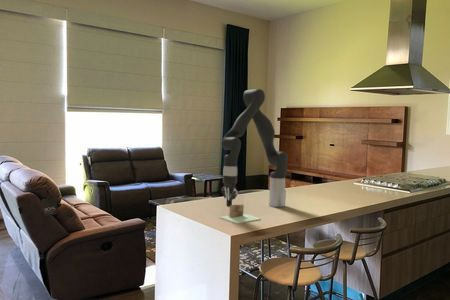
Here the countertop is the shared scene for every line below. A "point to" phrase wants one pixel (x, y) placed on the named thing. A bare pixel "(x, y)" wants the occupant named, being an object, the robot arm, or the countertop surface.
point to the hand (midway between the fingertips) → (229, 206)
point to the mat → (240, 218)
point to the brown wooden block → (236, 210)
